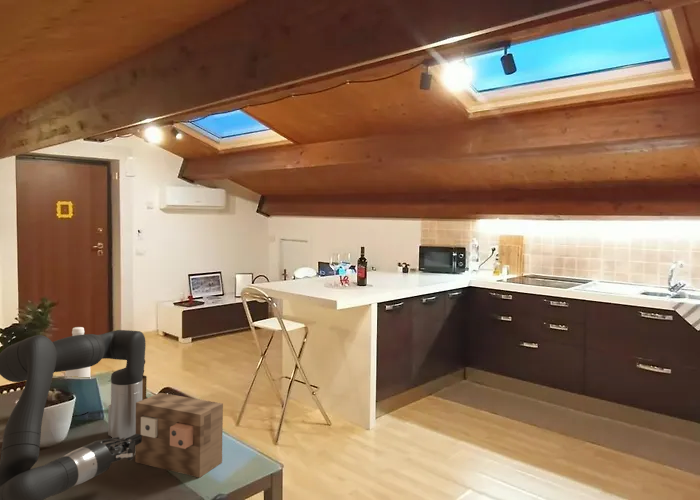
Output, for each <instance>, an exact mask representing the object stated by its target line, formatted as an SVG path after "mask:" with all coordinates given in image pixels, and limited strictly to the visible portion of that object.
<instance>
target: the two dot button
mask: <svg viewBox="0 0 700 500" xmlns="http://www.w3.org/2000/svg"><path fill="white" fill-rule="evenodd" d="M193 435H194V425H190V424H185V423H177V424H175V425H173V426H171V427H170V446H174V447H179V448H183V449H186V448H187V447H189V446H191V445H193Z"/></svg>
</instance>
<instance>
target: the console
mask: <svg viewBox="0 0 700 500" xmlns="http://www.w3.org/2000/svg"><path fill="white" fill-rule="evenodd" d="M142 416H149V417H154V418H158V437H156V438H153V437H148V436H143V435H142V442H141V443H139V444H137V445H135V454H134V457H135V463H137V464H142V465H146V466H150V467H152V468H153V467H154V468H158V469H162V470H166V471H170V472H174V473H178V474H183V475H188V476H192V477H196V478H199V479H201V478H202V477H203V476H204V475H206V474H207V473H209V472H210V471H212V470H214V469H215V468H217V467H218V466H219V465H221V464H222V463H223V430H224V429H223V426H224V425H223V424H224V423H223V422H224V420H223V419H224V403H221V402H215V401H210V400H204V399H200V398H199V399H198V398H194V397H187V396H182V395H181V396H180V395H178V394H177V395H176V394H170V393H164V392H160V393H157V394H154V395H152V396H149V397H147V398H146V399H144V400H141V401H139V402H136V434H140V435H141V417H142ZM177 423H185V424H190V425H194V435H193V445H191V446H189V447H187V448H186V449H183V448H179V447H174V446H170V427H171V426H173V425H175V424H177Z"/></svg>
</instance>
